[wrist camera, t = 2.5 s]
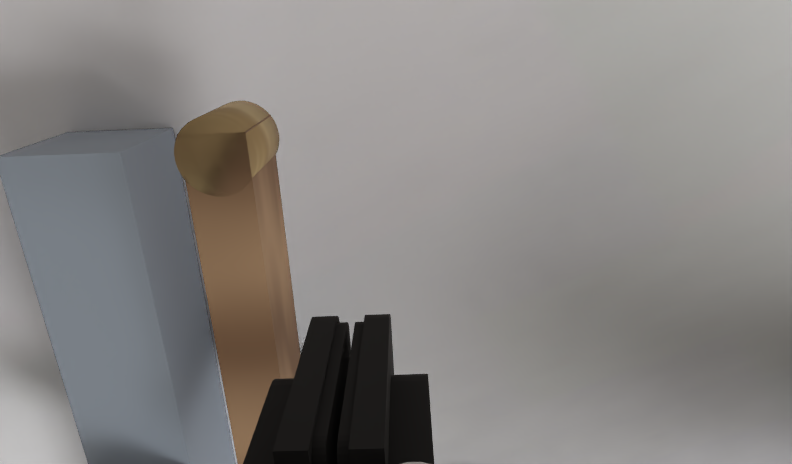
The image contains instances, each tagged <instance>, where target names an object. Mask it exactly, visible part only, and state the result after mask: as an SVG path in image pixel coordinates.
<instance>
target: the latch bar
mask: <svg viewBox="0 0 792 464" xmlns="http://www.w3.org/2000/svg"><path fill="white" fill-rule="evenodd" d="M278 146H279V133H278V129H277V126H276V124H275V121H274V120H273V118H272V117H271V115H270V114H269V113H268V112H267V111H266V110H264V109H263V108H262V107H260V106H258V105H256V104H254V103H251V102H247V101H234V102H230V103H228V104H225V105H223V106H221V107H219V108H217V109H215V110H213V111H210V112H208V113H206V114H204V115H202V116H200V117H198V118H196V119H193V120H192V121H190V122H188V123H187V124H186V125H185V126H184V127H183V128H182V129H181V130H180V132H179V133H178V134H177V138H176V141H175V145H174V157H175V162H176V165H177V168H178V170H179V172H180V174H181V175H182V177H183V178H184V179H185V181H186V186H187V192H188V197H189V202H190V208H191V213H192V219H193V224H194V229H195V235H196V240H197V246H198V251H199V256H200V262H201V267H202V273H203V278H204V284H205V289H206V294H207V300H208V305H209V311H210V316H211V321H212V327H213V332H214V338H215V343H216V348H217V354H218V359H219V365H220V370H221V375H222V381H223V386H224V392H225V397H226V402H227V408H228V413H229V419H230V424H231V429H232V435H233V440H234V446H235V451H236V456H237V462H238V464H243V462H244V459H245V456H246V453H247V451H248V448H249V445H250V442H251V439H252V436H253V433H254V431H255V428H256V425H257V422H258V419H259V416H260V414H261V411H262V408H263V405H264V402H265V399H266V396H267V394H268V391H269V388H270V385H271V383H272V381H273V380H274V379H286V378H294V376H295V373H296V370H297V366H298V363H299V359H300V348H299V340H298V332H297V324H296V316H295V307H294V299H293V291H292V283H291V275H290V267H289V259H288V251H287V243H286V235H285V227H284V219H283V211H282V203H281V195H280V186H279V178H278V170H277V162H276V153H277V150H278Z"/></svg>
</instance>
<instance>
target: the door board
mask: <svg viewBox="0 0 792 464" xmlns="http://www.w3.org/2000/svg"><path fill="white" fill-rule="evenodd" d="M174 145H175V137H174V132H173V128H160V129H135V130H110V131H86V132H68V133H65V134H62V135H59V136H56V137H53V138H50V139H47V140H44V141H41V142H38V143H35V144H32V145H29V146H26V147H23V148H20V149H17V150H14V151H11V152H8V153H6V154H3V155H0V177H1V180H2V183H3V186H4V190H5V193H6V196H7V200H8V203H9V206H10V209H11V213H12V216H13V219H14V223H15V226H16V229H17V232H18V236H19V239H20V242H21V245H22V249H23V252H24V255H25V259H26V262H27V265H28V268H29V272H30V275H31V278H32V281H33V285H34V288H35V291H36V295H37V298H38V301H39V304H40V308H41V311H42V314H43V317H44V321H45V324H46V327H47V331H48V334H49V337H50V340H51V344H52V347H53V350H54V353H55V357H56V360H57V363H58V367H59V370H60V373H61V376H62V380H63V383H64V386H65V390H66V393H67V396H68V399H69V403H70V406H71V409H72V412H73V416H74V419H75V422H76V426H77V429H78V432H79V435H80V439H81V442H82V445H83V448H84V452H85V455H86V458H87V462H88V464H235V458H234V453H233V448H232V442H231V437H230V432H229V426H228V421H227V416H226V410H225V405H224V400H223V394H222V389H221V384H220V378H219V373H218V367H217V362H216V357H215V351H214V346H213V341H212V335H211V330H210V325H209V319H208V314H207V309H206V303H205V298H204V293H203V287H202V282H201V277H200V271H199V266H198V260H197V255H196V250H195V244H194V239H193V234H192V228H191V223H190V218H189V212H188V207H187V202H186V196H185V191H184V186H183V180H182V175H181V174H180V172H179V170H178V168H177V165H176V162H175V157H174Z"/></svg>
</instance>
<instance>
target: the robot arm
mask: <svg viewBox="0 0 792 464" xmlns="http://www.w3.org/2000/svg"><path fill="white" fill-rule="evenodd" d="M243 464H434V456H433V441H432V427H431V413H430V398H429V384H428V374H412V375H394V366H393V348H392V331H391V316H390V314H383V315H365V318H364V322H355V327H354V333H353V340H352V347H351V345H350V334H349V325H348V322H345V323H340V322H339V317H338V316H325V317H312V319H311V322H310V325H309V329H308V332H307V336H306V339H305V342H304V346H303V349H302V353H301V356H300V359H299V363H298V366H297V370H296V373H295V376H294V378H286V379H274V380H273V381H272V383H271V385H270V388H269V391H268V394H267V396H266V399H265V402H264V405H263V408H262V411H261V414H260V416H259V419H258V422H257V425H256V428H255V431H254V433H253V436H252V439H251V442H250V445H249V448H248V451H247V453H246V456H245V459H244V462H243Z"/></svg>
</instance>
